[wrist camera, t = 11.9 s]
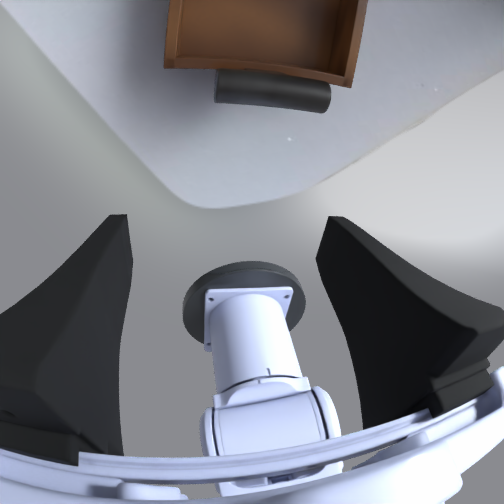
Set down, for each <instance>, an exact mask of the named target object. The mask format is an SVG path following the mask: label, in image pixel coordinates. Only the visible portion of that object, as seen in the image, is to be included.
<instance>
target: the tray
mask: <svg viewBox="0 0 504 504" xmlns="http://www.w3.org/2000/svg"><path fill="white" fill-rule="evenodd" d="M367 3H368V0H170V2H169V10H168V19H167V29H166V40H165V53H164V69H216V70H217V71H216V76H215V85H214V102H215V103H228V104H244V105H256V106H267V107H277V108H286V109H294V110H301V111H308V112H315V113H325V112H326V111H327V109H328V107H329V104H330V101H331V88H330V85H329V84H333V85H338V86H342V87H347V88H351V87H352V82H353V77H354V72H355V68H356V63H357V58H358V53H359V47H360V42H361V37H362V32H363V26H364V20H365V15H366V9H367Z"/></svg>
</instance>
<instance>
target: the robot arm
mask: <svg viewBox="0 0 504 504" xmlns="http://www.w3.org/2000/svg"><path fill="white" fill-rule="evenodd" d="M316 262H317V266H318V270H319V273H320V276H321V280H322V282H323V285H324V287H325V289H326V292H327V294H328V297H329V299H330V301H331V303H332V305H333V308H334V310H335V312H336V315H337V317H338V319H339V322H340V324H341V326H342V329H343V332H344V334H345V337H346V340H347V344H348V348H349V351H350V355H351V359H352V363H353V367H354V371H355V376H356V380H357V386H358V392H359V397H360V404H361V413H362V422H363V430H362V431H358V432H355V433H351V434H347V435H344V436H341V431H340V425H339V421H338V417H337V414H336V410H335V407H334V405H333V402H332V400H331V398H330V397H329V395H328V393H327V392H326V391H324V390H322V389H321V388H320V387H318V386H315V387H312V388H310V385H309V381H308V378H307V377H302V374H301V371H300V367H299V364H298V360H297V357H296V354H295V350H294V347H293V344H292V341H291V337H290V334H289V330H288V327H287V324H286V320H285V317H286V314H287V311H288V308H289V304H290V301H291V298H292V295H293V289H292V287H265V288H234V289H208V290H207V291H206V292H205V312H204V350H205V351H207V352H212V356H213V365H214V374H215V381H216V390H217V394H216V395H213V404H214V407H208V408H206V409H205V412H204V413H203V415H202V416H201V418H200V439H201V446H202V451H203V455H204V457H187V458H150V457H128V456H124V453H123V446H122V437H121V426H120V412H119V411H120V410H119V352H120V342H121V335H122V329H123V323H124V318H125V313H126V308H127V302H128V297H129V292H130V287H131V279H132V268H133V257H132V250H131V244H130V236H129V228H128V220H127V214H125V215H124V214H121V215H109V216H108V217H107V218H106V219H105V221H104V222H103V223H102V224H101V225H100V226H99V227H98V228H97V229H96V230H95V231H94V232H93V233H92V234H91V235H90V237H89V238H88V239H87V240H86V241H85V242H84V243H83V244H82V245H81V246H80V247H79V248H78V249H77V250H76V251H75V252H74V253H73V254H72V255H71V256H70V257H69V258H68V259H67V260H66V261H65V263H63V265H62V266H60V267H59V268H58V269H57V270H56V271H55V272H54V273H53V274H52V275H51V276H49V277H48V278H47V279H46V280H45V281H44V282H43V283H42V284H40V285H39V286H38V287H37V288H35V289H34V290H33V291H31V292H30V293H29V294H27V295H26V296H25V297H24V298H22V299H21V300H20V301H19V302H17V303H16V304H15V305H13V306H12V307H10V308H9V309H7V310H6V311H5V312H3V313H1V314H0V504H445V502H444V501H446V500H448V499H449V498H450V497H452V496H453V495H454V494H456V493H457V492H459V490H460V489H461V486H462V483H463V482H462V479H461V476H460V474H461V473H463V472H464V471H465V470H467V469H468V468H469V467H471V466H472V465H473V464H474V463H476V462H477V461H478V460H479V459H481V458H482V457H483V456H484V455H486V454H487V453H488V452H489V451H490V450H492V448H494V447H495V446H496V445H497V444H498V443H499V442H501V440H503V439H504V366H502V367H500V368H499V369H497V370H495V371H493V372H492V373H491V374H490V375H489V373H488V372H487V370H486V369H487V368H488V367H489V366H490V363H489V361H488V359H487V357H488V356H489V355H490V354H491V353H492V352H493V351H494V350H495V349H496V348H497V346H498V345H499V344H500V343H501V342H502V341H503V340H504V311H503V310H502V309H501V308H500V307H498V306H494V305H492V304H489V303H486V302H483V301H481V300H478V299H475V298H473V297H471V296H468V295H466V294H464V293H462V292H459V291H457V290H455V289H453V288H451V287H449V286H447V285H445V284H444V283H442V282H440V281H438V280H436V279H434V278H432V277H431V276H429V275H427V274H426V273H424V272H422V271H421V270H419V269H418V268H416V267H414V266H413V265H411V264H410V263H408V262H407V261H405V260H404V259H402V258H401V257H400V256H398V255H396V254H395V253H394V252H393V251H391V250H390V249H388V248H387V247H386V246H384V245H383V244H382V243H380V242H379V241H377V240H376V239H375V238H374V237H372V236H371V235H369V234H368V233H367V232H365V231H364V230H363V229H361V228H360V227H358V226H357V225H356V224H354V223H353V222H351V221H350V220H348V219H346V218H344V217H338V216H329V217H328V220H327V224H326V227H325V231H324V233H323V237H322V240H321V243H320V246H319V249H318V253H317V256H316ZM210 298H211V299H210ZM396 443H397V444H396ZM393 444H395V445H393ZM390 445H392V446H390ZM387 446H390V447H388V448H386V449H384V450H381V451H379V452H378V453H377V454H376V455H374V456H373V457H371V458H370V459H368V460H366V461H365V462H363V463H361V464H359V465H357V466H355V467H353V468H352V469H351V470H350V471H347V472H344V473H342V468H343V461H344V460H347V459H351V458H354V457H357V456H361V455H364V454H367V453H370V452H373V451H376V450H379V449H382V448H385V447H387ZM204 483H205V484H206V483H215V487H216V490H217V492H218V493H219V494H220V496H221V497H216V498H205V499H190V500H188V497H187V496H186V495H184V494H180V490H179V489H178V488H177V487H166V486H155V485H147V484H204Z"/></svg>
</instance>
